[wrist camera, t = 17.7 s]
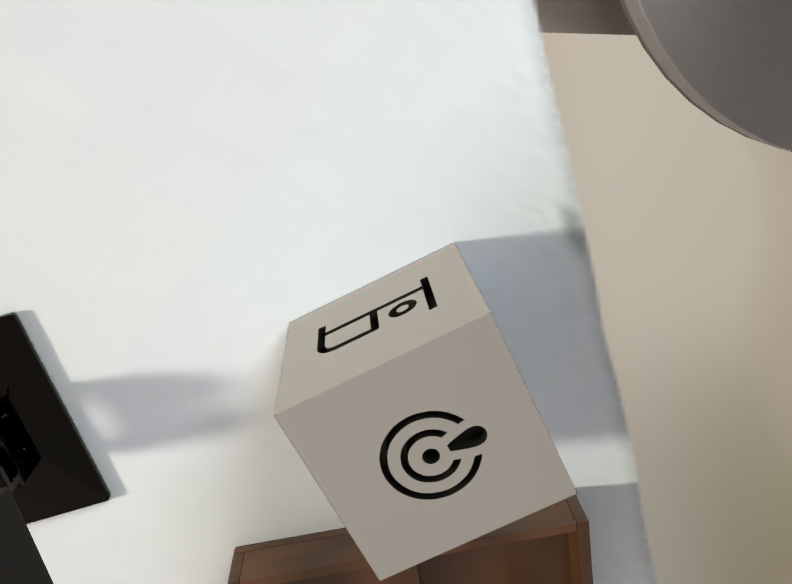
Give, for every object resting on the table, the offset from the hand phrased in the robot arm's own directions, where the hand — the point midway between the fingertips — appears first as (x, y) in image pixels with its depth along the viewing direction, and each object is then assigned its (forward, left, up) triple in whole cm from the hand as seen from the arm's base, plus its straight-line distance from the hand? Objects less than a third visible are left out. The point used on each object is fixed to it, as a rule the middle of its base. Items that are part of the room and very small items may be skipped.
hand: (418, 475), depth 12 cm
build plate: (+22, +11, -27) cm, 36 cm away
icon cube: (-1, +11, -27) cm, 29 cm away
